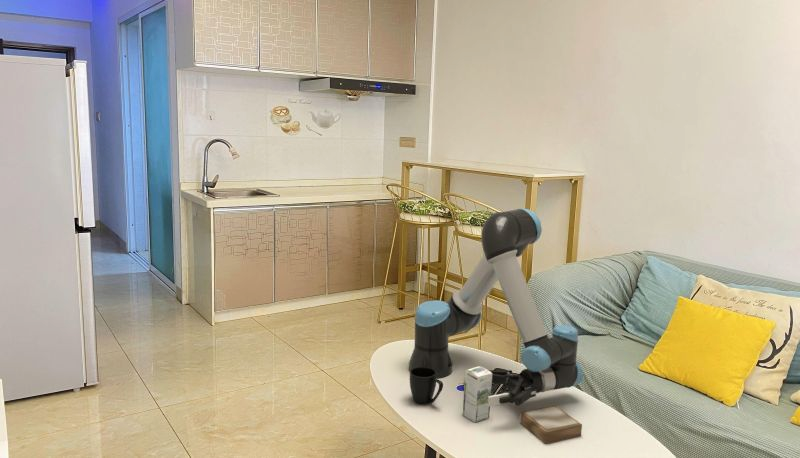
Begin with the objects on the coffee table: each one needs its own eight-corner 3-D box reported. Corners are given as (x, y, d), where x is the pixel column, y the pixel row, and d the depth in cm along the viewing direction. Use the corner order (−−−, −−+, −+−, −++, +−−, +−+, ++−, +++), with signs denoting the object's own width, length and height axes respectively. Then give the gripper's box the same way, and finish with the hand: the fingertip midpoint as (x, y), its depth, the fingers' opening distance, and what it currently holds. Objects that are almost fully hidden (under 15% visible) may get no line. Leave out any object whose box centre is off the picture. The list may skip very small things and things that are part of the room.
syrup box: (476, 410, 182) (478, 364, 179) (490, 418, 177) (492, 371, 175) (462, 415, 179) (464, 369, 176) (475, 423, 174) (478, 376, 171)
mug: (430, 414, 179) (431, 384, 177) (403, 399, 188) (404, 370, 186) (449, 406, 184) (451, 377, 182) (423, 392, 193) (423, 364, 191)
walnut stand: (520, 423, 175) (521, 411, 174) (554, 416, 179) (555, 404, 179) (545, 444, 164) (546, 431, 163) (581, 436, 169) (582, 423, 168)
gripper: (561, 409, 174) (498, 423, 165) (512, 375, 196) (455, 385, 188) (563, 385, 172) (500, 397, 164) (513, 353, 195) (456, 362, 186)
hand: (475, 391), depth 176 cm, fingers open, 13 cm apart
